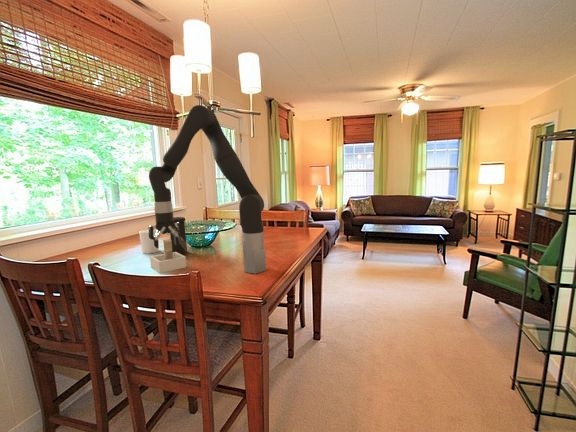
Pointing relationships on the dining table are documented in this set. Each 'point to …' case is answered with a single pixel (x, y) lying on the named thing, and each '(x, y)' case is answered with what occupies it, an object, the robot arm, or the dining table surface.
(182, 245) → the container
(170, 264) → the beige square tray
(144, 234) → the candle holder
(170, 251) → the tan column with base
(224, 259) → the dining table surface
